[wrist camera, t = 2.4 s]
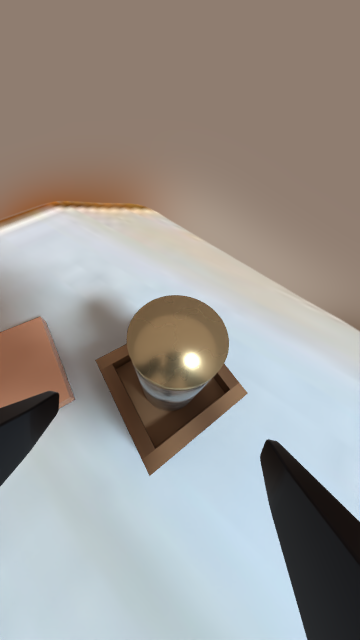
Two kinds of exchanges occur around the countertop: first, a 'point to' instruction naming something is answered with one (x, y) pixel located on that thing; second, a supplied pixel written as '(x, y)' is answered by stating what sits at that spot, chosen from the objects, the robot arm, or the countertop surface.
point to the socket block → (158, 425)
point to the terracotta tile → (31, 364)
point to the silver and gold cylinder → (176, 349)
